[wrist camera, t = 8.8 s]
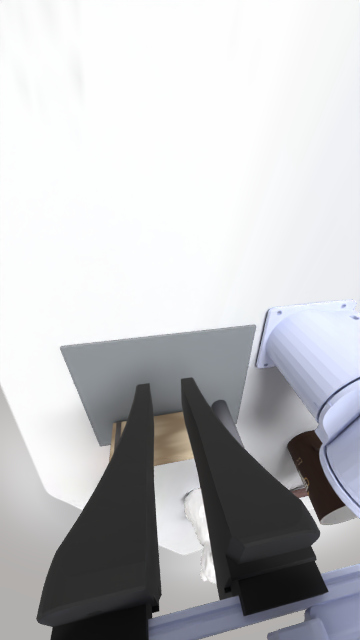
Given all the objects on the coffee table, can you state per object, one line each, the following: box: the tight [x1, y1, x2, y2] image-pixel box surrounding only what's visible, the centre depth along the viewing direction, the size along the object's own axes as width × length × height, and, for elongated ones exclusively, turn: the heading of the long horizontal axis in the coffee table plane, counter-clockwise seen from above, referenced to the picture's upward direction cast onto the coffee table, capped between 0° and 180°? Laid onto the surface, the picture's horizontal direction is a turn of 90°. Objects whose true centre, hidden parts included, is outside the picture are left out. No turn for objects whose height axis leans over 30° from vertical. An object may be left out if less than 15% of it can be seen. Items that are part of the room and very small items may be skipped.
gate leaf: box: [109, 412, 194, 466], centre depth 25 cm, size 12×1×5 cm, turn 92°
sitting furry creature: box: [184, 488, 217, 584], centre depth 39 cm, size 10×9×12 cm
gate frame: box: [60, 325, 256, 448], centre depth 23 cm, size 19×17×7 cm
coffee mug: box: [288, 430, 357, 525], centre depth 34 cm, size 12×9×10 cm
